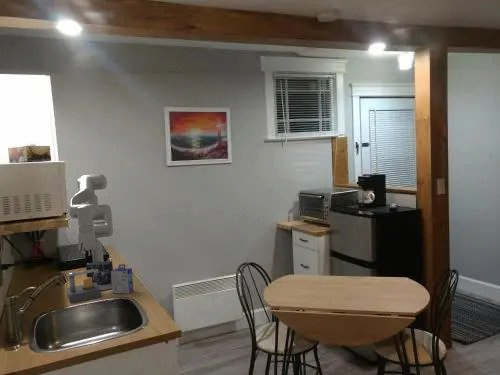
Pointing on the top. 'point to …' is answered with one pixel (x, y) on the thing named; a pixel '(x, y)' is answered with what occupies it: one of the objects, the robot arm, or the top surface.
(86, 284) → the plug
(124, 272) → the ink cartridge box
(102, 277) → the small box
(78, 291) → the socket block
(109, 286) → the pad
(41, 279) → the top surface
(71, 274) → the clip
